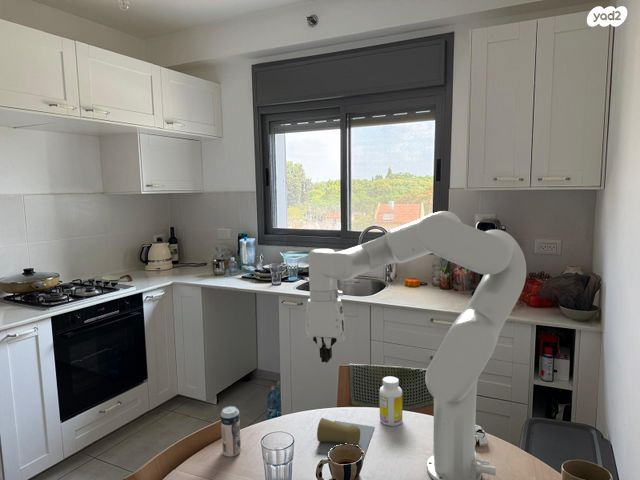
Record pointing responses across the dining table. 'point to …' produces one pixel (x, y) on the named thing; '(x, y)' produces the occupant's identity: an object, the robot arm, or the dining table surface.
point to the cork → (337, 432)
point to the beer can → (230, 431)
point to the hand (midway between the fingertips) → (326, 360)
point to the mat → (326, 446)
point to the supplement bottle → (390, 402)
